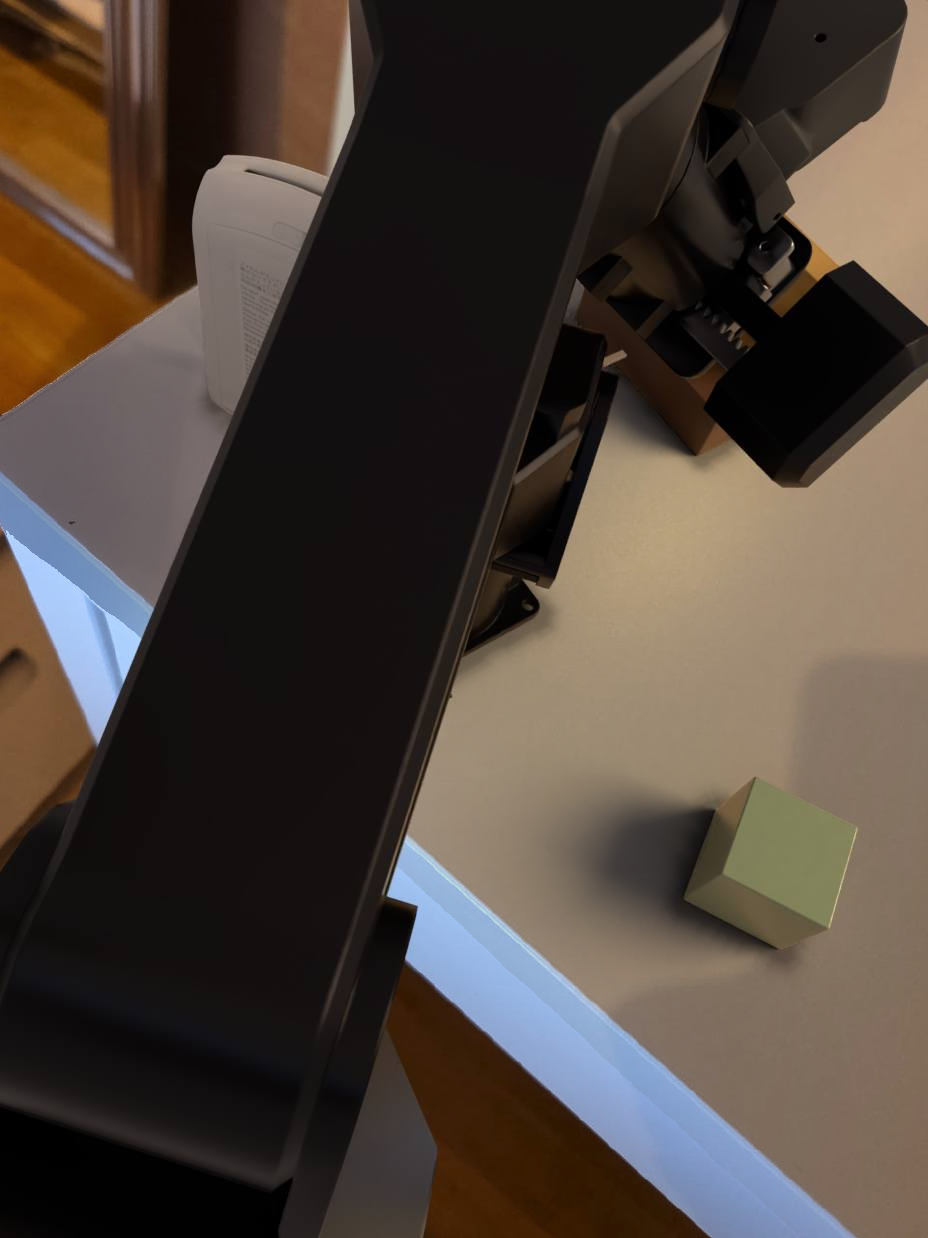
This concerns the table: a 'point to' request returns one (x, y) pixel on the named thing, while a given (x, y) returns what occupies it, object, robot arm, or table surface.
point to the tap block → (656, 376)
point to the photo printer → (246, 258)
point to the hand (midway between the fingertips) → (728, 309)
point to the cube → (772, 865)
